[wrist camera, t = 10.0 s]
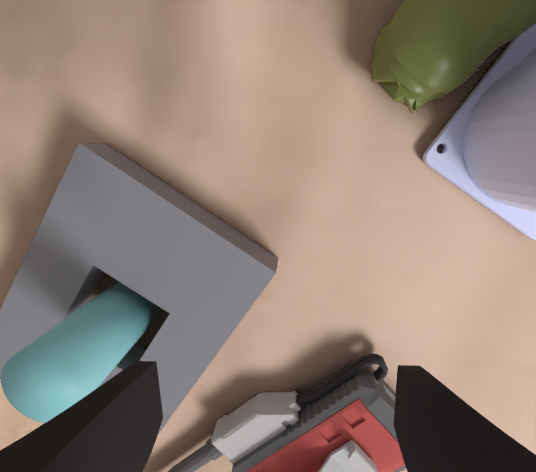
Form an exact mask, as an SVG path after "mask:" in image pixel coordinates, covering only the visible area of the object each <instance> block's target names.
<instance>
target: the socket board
mask: <svg viewBox="0 0 536 472" xmlns="http://www.w3.org/2000/svg"><path fill="white" fill-rule="evenodd" d="M277 262H278V258H277V257H276V256H274V255H273V254H271V253H270V252H268V251H267V250H265V249H264V248H262V247H261V246H259V245H258V244H256V243H255V242H253V241H252V240H250V239H249V238H247V237H246V236H244V235H243V234H241V233H240V232H238V231H237V230H235V229H234V228H232V227H231V226H229V225H228V224H226V223H225V222H223V221H222V220H220V219H219V218H217V217H216V216H214V215H213V214H211V213H210V212H208V211H207V210H205V209H204V208H202V207H201V206H199V205H198V204H196V203H195V202H193V201H192V200H190V199H189V198H187V197H186V196H184V195H183V194H181V193H180V192H178V191H177V190H175V189H174V188H172V187H171V186H169V185H168V184H166V183H165V182H163V181H162V180H160V179H159V178H157V177H156V176H154V175H153V174H151V173H149V172H148V171H146V170H145V169H143V168H142V167H140V166H139V165H137V164H136V163H134V162H133V161H131V160H130V159H128V158H127V157H125V156H124V155H122V154H121V153H119V152H118V151H116V150H115V149H113V148H112V147H110V146H109V145H107V144H97V143H80V142H79V143H78V145H77V147H76V149H75V151H74V153H73V156H72V158H71V160H70V162H69V164H68V166H67V168H66V170H65V173H64V175H63V177H62V179H61V181H60V183H59V185H58V187H57V190H56V192H55V194H54V196H53V198H52V200H51V202H50V204H49V207H48V209H47V211H46V213H45V215H44V217H43V219H42V221H41V224H40V226H39V228H38V230H37V232H36V234H35V236H34V238H33V241H32V243H31V245H30V247H29V249H28V251H27V253H26V255H25V258H24V260H23V262H22V264H21V266H20V268H19V270H18V272H17V275H16V277H15V279H14V281H13V283H12V285H11V287H10V289H9V292H8V294H7V296H6V298H5V300H4V302H3V304H2V306H1V309H0V379H1V373H2V369H3V367H4V365H5V363H6V362H7V361H8V359H9V358H11V357H12V356H13V355H15V354H16V353H18V352H19V351H20V350H22V349H23V348H25V347H26V346H27V345H29V344H30V343H32V342H33V341H34V340H36V339H37V338H39V337H40V336H41V335H43V334H44V333H46V332H47V331H48V330H50V329H51V328H53V327H54V326H55V325H57V324H58V323H60V322H61V321H62V320H64V319H65V318H67V317H68V316H69V315H71V314H72V313H74V312H75V311H76V310H78V309H79V308H81V307H82V306H83V305H85V304H86V303H88V302H89V301H90V300H91V298H92V296H93V294H94V293H95V291H96V289H97V287H98V285H99V284H100V282H101V280H102V278H103V276H104V275H105V273H107V274H108V275H110V276H111V277H113V278H114V279H116V280H118V281H119V282H121V283H122V284H124V285H126V286H127V287H129V288H130V289H132V290H133V291H135V292H137V293H138V294H140V295H141V296H143V297H145V298H146V299H148V300H149V301H151V302H152V303H154V304H156V305H157V306H159V307H160V308H162V309H163V310H165V311H167V312H168V313H170V314H169V316H168V317H167V319H166V321H165V322H164V324H163V325H162V327H161V328H160V330H159V331H158V333H157V334H156V336H155V337H154V339H153V341H152V342H151V344H150V345H149V347H148V348H147V349H146V348H144V347H142V346H141V345H139V344H138V343H135V344H134V345H133V346H132V347H131V349H130V350H129V351H128V352H127V353H126V355H125V356H124V357H123V358H122V359H121V360H120V362H119V363H118V364H117V365H116V366H115V368H114V369H113V370H112V371H111V372H110V373H109V375H108V376H107V377H106V378H105V379H104V381H103V382H102V383H101V384H100V385H99V386H98V387H100V386H101V385H102V384H104V383H105V382H107V381H108V380H110V379H111V378H112V377H114V376H115V375H117V374H118V373H120V372H121V371H122V370H124V369H125V368H127V367H128V366H130V365H132V364H133V363H135V362H136V361H156V362H157V370H158V378H159V387H160V395H161V403H162V412H163V420H162V423H161V426H160V429H159V432H160V431H161V430H162V428H163V427H164V425H165V424H166V423H167V421H168V420H169V419H170V417H171V416H172V414H173V413H174V412H175V410H176V409H177V408H178V406H179V405H180V403H181V402H182V401H183V399H184V398H185V397H186V395H187V394H188V392H189V391H190V390H191V388H192V387H193V386H194V384H195V383H196V382H197V380H198V379H199V377H200V376H201V375H202V373H203V372H204V371H205V369H206V368H207V366H208V365H209V364H210V362H211V361H212V360H213V358H214V357H215V355H216V354H217V353H218V351H219V350H220V349H221V347H222V346H223V344H224V343H225V342H226V340H227V339H228V338H229V336H230V335H231V334H232V332H233V331H234V329H235V328H236V327H237V325H238V324H239V323H240V321H241V320H242V318H243V317H244V316H245V314H246V313H247V312H248V310H249V309H250V307H251V306H252V305H253V303H254V302H255V301H256V299H257V298H258V296H259V295H260V294H261V292H262V291H263V290H264V288H265V287H266V286H267V284H268V283H269V281H270V280H271V279H272V277H273V276H274V275H275V273H276V268H277ZM159 432H158V434H159Z"/></svg>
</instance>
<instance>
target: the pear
mask: <svg viewBox="0 0 536 472" xmlns="http://www.w3.org/2000/svg"><path fill="white" fill-rule="evenodd" d="M535 24H536V0H404V1H403V2H402V4H401V5H400V7H399V8H398V10H397V11H396V13H395V15H394V16H393V18H392V20H391V21H390V22H389V23H388V24H387V25H386V26H385V27H384V28H383V29H382V30H381V32H380V33H379V35H378V37H377V39H376V41H375V45H374V53H375V54H374V57H373V59H372V61H371V75H372V78H371V81H372V82H377V83H378V82H381V83H380V84H379V85H382V86H381V87H383V89H385V90H384V91H387V93H388V95H389V96H391V97H392V98H393V99H394V98H395V96H396V98H395V99H394V101H397V102H400V103H403V104H404V105H405V104H407V105H406V106H408V107H409V110H410V113H413V110H416V111H417V110H418V109H419V108H421V106H422V105H423V104H425V103H426V102H428V101H430V100H436V99H440V98H442V97H444V96H446V95H447V94H449V93H450V92H451V91H452V90H453V89H455V88H457V87H458V86H460V85H461V84H463V83H464V82H465V81H466V80H467V79H469V78H470V77H471V76H472V74H473V73H474V72H475V71H476V70H477V69H478V68H479V67H480V66H481V64H482V63H483V62H484V61H485V60H486V59H487V58H488V57H489V56H490V55H491V54H492V53H493V52H494V51H495V50H496V49H498V48H499V47H500V46H502V45H504V44H505V43H507V42H509V41H511V40H512V39H514V38H516V37H517V36H519V35H521V34H522V33H524V32H525V31H527V30H528V29H529V28H531V27H532V26H533V25H535Z"/></svg>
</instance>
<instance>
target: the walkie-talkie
mask: <svg viewBox="0 0 536 472" xmlns="http://www.w3.org/2000/svg"><path fill="white" fill-rule="evenodd" d="M372 364H378V365H380V366H379V367H378V369H377V370H375V371H374V370H373V368H372V367H371V366H370V365H372ZM387 371H388V368H387V366H386V363H385V361H384V359H383V357H382V356H380V355H378V354H369V355H366V356H363V357H361V358H360V359H358V360H357V361H352V363H351V364H349V365H346V366H345V368H344V369H342V370H341V369H340V370H338V373H336V374H332V377H330V378H329V379H328V378H327V379H325V381H324V382H323V383H319V386H317V387H313V390H311V391H307V392H302V393H300V394H297V393H296V392H295V391H292V392H262V393H259V394H257V395H256V396H254V397H253V398H252V399H250V400H249V401H247V402H246V403H245V404H243V405H242V406H240V407H239V408H237V409H236V410H235V411H233V412H232V413H230V414H229V415H224V416H223V417H221V418H220V419H218V420H217V422H216V426H215V429H214V432H213V436H212V437H211V438H210V439H209V440H207V442H206V445H204V446H203V447H201V448H200V449H198V450H197V451H195V452H194V453H192V454H191V455H190V456H188V457H187V458H185V459H184V460H182V461H181V462H179V463H178V464H176V465H175V466H174V467H172V468H171V469H170V470H169V471H168V472H194V471H196V470H197V469H199V468H200V467H202V466H203V465H205V464H206V463H208V462H209V461H211V460H212V459H213V460H216V459H217V458H219V457H220V456H222V455H225V456H226V457H227V458H228V459H229V460H230V461H231V462H232V463H233V468H232V472H399V471H401V470H404V469H405V468H406V466H405V463H404V460H403V457H402V453H401V450H400V447H399V443H398V440H397V436H396V432H395V429H394V425H393V423H394V410H395V397H396V394H395V393H394V391H393V390H392V389H391V388H390V387H389V386H388V385H387V384H386V383H385V382H384V380H383V378H384V377H385V376H386V375H387Z"/></svg>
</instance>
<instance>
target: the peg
mask: <svg viewBox="0 0 536 472" xmlns="http://www.w3.org/2000/svg"><path fill="white" fill-rule="evenodd" d="M159 312H160V307H159V306H157V305H156V304H154V303H152V302H151V301H149V300H148V299H146V298H145V297H143V296H141V295H140V294H138V293H137V292H135V291H133V290H132V289H130V288H129V287H127V286H126V285H124V284H122V283H121V282H119V281H117V282H116V283H114V284H113V285H111V286H110V287H109V288H107V289H106V290H104V291H103V292H102V293H100V294H99V295H97V296H96V297H95V298H93V299H92V300H90V301H89V302H88V303H86V304H85V305H83V306H82V307H81V308H79V309H78V310H76V311H75V312H74V313H72V314H71V315H69V316H68V317H67V318H65V319H64V320H62V321H61V322H60V323H58V324H57V325H55V326H54V327H53V328H51V329H50V330H48V331H47V332H46V333H44V334H43V335H41V336H40V337H39V338H37V339H36V340H34V341H33V342H32V343H30V344H29V345H27V346H26V347H25V348H23V349H22V350H20V351H19V352H18V353H16V354H15V355H13V356H12V357H11V358H9V359H8V361H7V362H6V363H5V365H4V367H3V369H2V373H1V384H2V388H3V391H4V393H5V395H6V397H7V399H8V400H9V402H10V403H11V404H12V405H13V406H14V407H15V408H16V409H17V410H18V411H19V412H20V413H22V414H23V415H25V416H27V417H29V418H31V419H33V420H36V421H39V422H43V423H46V422H48V421H49V420H51V419H52V418H54V417H55V416H57V415H58V414H60V413H62V412H63V411H65V410H66V409H68V408H69V407H71V406H72V405H74V404H75V403H77V402H78V401H80V400H81V399H82V398H84V397H85V396H87V395H88V394H90V393H91V392H92V391H94V390H95V389H97V388H98V386H99V385H100V384H101V383H102V382H103V381H104V379H105V378H106V377H107V376H108V375H109V373H110V372H111V371H112V370H113V369H114V368H115V366H116V365H117V364H118V363H119V362H120V360H121V359H122V358H123V357H124V356H125V355H126V353H127V352H128V351H129V350H130V349H131V347H132V346H133V345H134V344H135V343H136V342H137V340H138V339H139V338H140V337H141V336H142V334H143V333H144V332H145V331H146V330H147V329H148V327H149V326H150V325H151V324H152V323H153V321H154V320H155V319H156V318H157V316H158V314H159Z"/></svg>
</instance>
